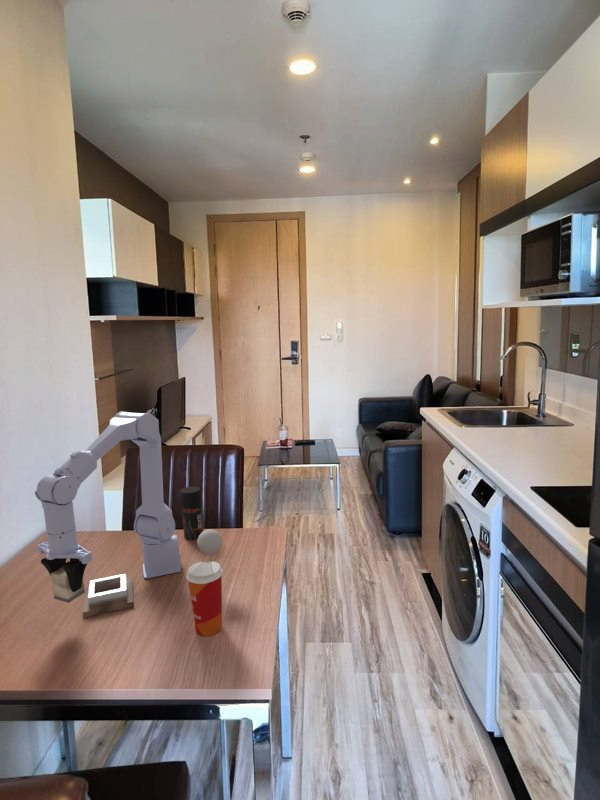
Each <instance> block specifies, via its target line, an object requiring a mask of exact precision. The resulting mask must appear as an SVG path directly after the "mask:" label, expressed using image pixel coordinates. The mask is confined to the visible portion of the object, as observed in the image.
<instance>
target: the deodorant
mask: <svg viewBox="0 0 600 800" xmlns="http://www.w3.org/2000/svg"><path fill="white" fill-rule="evenodd" d="M179 492H180V493H179V494H180V502H181V503H180V504H181V514H182V516H181V517H182V525H183V537H184V539H185V540H188V541H195V540H198V537H199V535H200V534H201V533H202V532H203V531H204V522H203V510H202V509H203V508H202V497H201V488H200V487H199V486H187V487H183V488H182V489H180V491H179Z"/></svg>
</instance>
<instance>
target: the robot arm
mask: <svg viewBox="0 0 600 800" xmlns="http://www.w3.org/2000/svg"><path fill="white" fill-rule="evenodd" d="M159 421H160V420H159V419H158V418H157V417H155V416H154V415H153V414H152V413H149V412H144V413H141V412H130V411H129V412H128V411H118V412H117V413H116V414H115V415H114V416H113V417H112V418H111V419H109V424H108V425H107V426H106V428H105V430H103V431H102V432H101V433H100V435H99V436H98V437H97V438H96V439H95V440H94V441H93V442H92V443H91V444H90V445H89V446H88V447H87V448H86V449H85V450H78V451H76V452H72V453H71V454H70V455H69V457H70V458H68V460H66V461H65V462H63V464H62V465H61V466H60V467H58V468H55V470H54V472H53V473H52V474H49V475H45V476H43V477H42V478H41V479H40V480H39V482H38V483H37V485H36V490H34V495H35V497H36V498H37V499H38V501H40V502H41V507H42V509H43V514H44V515H43V516H44V523H45V531H46V536H47V541H43V542H42V543H39V544H37V546H36V547H37V553H38V554H40V555H43V554H45V557H44V558H42V559H41V560H40V564H42V566H44V568H45V569H46V570H47V572H48V573H49V576H51V573H53V572H54V571H56V570H58V569H60V568H63V569H64V570H65V572H66V574H67V576H68V579H69V584H70V588H71V590H72V592H76V591H77V590H79V589H80V588H81V587H82V580H83V581H84V574H85V570H86V568H87V565H88V564H89V563H90V562H91V561H93V554H92V551H89V550H87V549H86V548H85V547H83V546H81V545H80V544H78V537H77V536H78V535H77V528H76V518H75V511H74V503H73V500H75V499H76V497H77V494H78V490H79V489H80V487H81V485H82V483H84V482H85V480H87V478H89V476H91V474H93V473H94V471H96V469H97V467H98V461H99V460H100V459H101V458H102V457H103V456H105V455H106V454H107V453H108V452H109V451H110V450H112V448H113V449H114V447H115V446H116V445H117V444H119V443H120V442H122V441H127V440H129V441H132V442H133V443H134V444H135V445H137V446H138V447H139V461H140V462H139V463H140V483H141V485H140V487H141V505H140V506H139V507H138V508H137V509H136V510H135V519H134V523H133V531H134V532H135V533H136V534H135V535H137V536H139V540H141V542H142V543H141V546H142V556H143V564H142V572H143V579H146V580H147V579H151V578H157V577H160V576H161V577H162V576H166V575H170V574H171V575H172V574H175V573H181V571H182V568H181V560H182V559H181V554H180V545H179V539H178V535H177V534H174V533H175V531H176V522H175V519H174V516H173V510H172V509H171V508H170V507H169V506H168V505H167V504H166V503H165V502H164V482H163V481H164V479H163V478H164V477H163V476H164V475H163V456H162V455H163V454H162V437H161V434H160V426H159V424H160V423H159ZM67 559H69V561H67Z"/></svg>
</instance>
